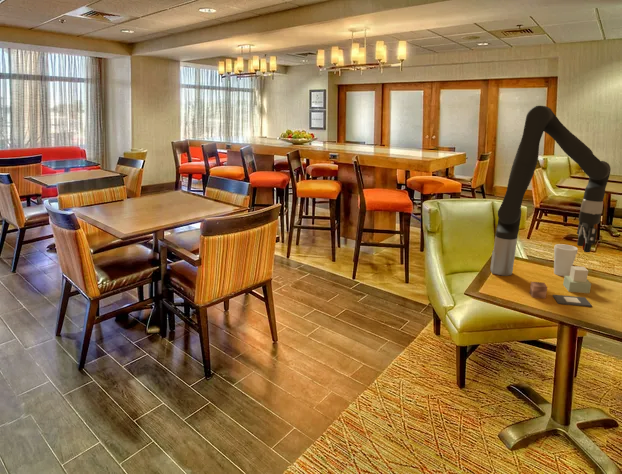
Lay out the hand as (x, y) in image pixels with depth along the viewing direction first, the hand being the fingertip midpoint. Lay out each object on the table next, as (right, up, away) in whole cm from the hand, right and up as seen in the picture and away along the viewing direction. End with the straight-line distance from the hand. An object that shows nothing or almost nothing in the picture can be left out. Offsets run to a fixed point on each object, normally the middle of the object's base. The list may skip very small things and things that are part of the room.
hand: (583, 248), depth 192 cm
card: (-9, -21, -8) cm, 24 cm away
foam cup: (+3, -12, +22) cm, 26 cm away
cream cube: (0, -13, +4) cm, 14 cm away
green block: (0, -17, +5) cm, 18 cm away
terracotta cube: (-20, -19, -2) cm, 28 cm away
